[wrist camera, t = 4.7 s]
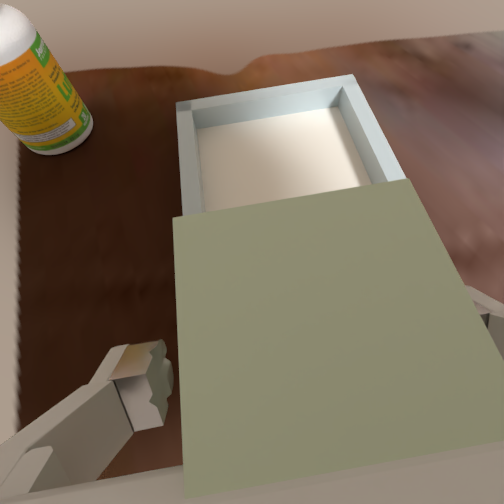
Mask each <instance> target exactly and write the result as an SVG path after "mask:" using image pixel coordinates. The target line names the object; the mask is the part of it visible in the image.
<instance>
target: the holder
mask: <svg viewBox="0 0 504 504" xmlns="http://www.w3.org/2000/svg"><path fill="white" fill-rule="evenodd" d="M176 115H177V131H178V147H179V163H180V179H181V195H182V211H183V216H186V215H192V214H198V213H204V212H210V211H216V210H222V209H228V208H234V207H240V206H246V205H252V204H258V203H264V202H270V201H275V200H281V199H287V198H293V197H299V196H305V195H311V194H317V193H323V192H329V191H335V190H341V189H347V188H353V187H359V186H365V185H371V184H377V183H383V182H388V181H394V180H400V179H406V177H405V175H404V173H403V171H402V169H401V167H400V165H399V163H398V161H397V159H396V157H395V155H394V153H393V151H392V149H391V148H390V146H389V144H388V142H387V140H386V138H385V136H384V134H383V132H382V130H381V128H380V126H379V124H378V122H377V120H376V118H375V116H374V114H373V113H372V111H371V109H370V107H369V105H368V103H367V101H366V99H365V97H364V95H363V93H362V91H361V89H360V87H359V85H358V83H357V81H356V79H355V77H354V76H353V74H350V75H344V76H338V77H332V78H325V79H319V80H313V81H307V82H300V83H294V84H288V85H282V86H276V87H269V88H263V89H257V90H251V91H244V92H238V93H232V94H226V95H220V96H213V97H207V98H201V99H195V100H188V101H182V102H176Z"/></svg>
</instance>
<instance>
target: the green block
mask: <svg viewBox="0 0 504 504" xmlns="http://www.w3.org/2000/svg"><path fill="white" fill-rule="evenodd" d="M173 240H174V263H175V287H176V310H177V333H178V356H179V379H180V402H181V425H182V448H183V472H184V495H185V499H189V498H194V497H200V496H205V495H211V494H216V493H221V492H227V491H232V490H238V489H243V488H249V487H254V486H259V485H265V484H270V483H276V482H281V481H287V480H292V479H297V478H303V477H308V476H314V475H319V474H325V473H330V472H336V471H341V470H346V469H352V468H357V467H363V466H368V465H374V464H379V463H384V462H390V461H395V460H401V459H406V458H412V457H417V456H422V455H428V454H433V453H439V452H444V451H450V450H455V449H460V448H466V447H471V446H477V445H482V444H488V443H493V442H498V441H504V360H503V358H502V357H501V355H500V353H499V351H498V349H497V347H496V345H495V343H494V341H493V339H492V337H491V335H490V333H489V332H488V330H487V328H486V326H485V324H484V322H483V320H482V318H481V316H480V314H479V312H478V310H477V308H476V306H475V305H474V303H473V301H472V299H471V297H470V295H469V293H468V291H467V289H466V287H465V285H464V283H463V281H462V280H461V278H460V276H459V274H458V272H457V270H456V268H455V266H454V264H453V262H452V260H451V258H450V256H449V255H448V253H447V251H446V249H445V247H444V245H443V243H442V241H441V239H440V237H439V235H438V233H437V231H436V230H435V228H434V226H433V224H432V222H431V220H430V218H429V216H428V214H427V212H426V210H425V208H424V206H423V205H422V203H421V201H420V199H419V197H418V195H417V193H416V191H415V189H414V187H413V185H412V183H411V181H410V180H409V178H406V179H400V180H394V181H388V182H383V183H377V184H371V185H365V186H359V187H353V188H347V189H341V190H335V191H329V192H323V193H317V194H311V195H305V196H299V197H293V198H287V199H281V200H275V201H270V202H264V203H258V204H252V205H246V206H240V207H234V208H228V209H222V210H216V211H210V212H204V213H198V214H192V215H186V216H180V217H174V218H173Z"/></svg>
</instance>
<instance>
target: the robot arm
mask: <svg viewBox="0 0 504 504" xmlns="http://www.w3.org/2000/svg"><path fill="white" fill-rule="evenodd" d="M465 287H466V289H467V291H468V293H469V295H470V297H471V299H472V301H473V303H474V305H475V306H476V308H477V310H478V312H479V314H480V316H481V318H482V320H483V322H484V324H485V326H486V328H487V330H488V332H489V333H490V335H491V337H492V339H493V341H494V343H495V345H496V347H497V349H498V351H499V353H500V355H501V357H502V358H503V360H504V304H502V303H500V302H498V301H496V300H494V299H493V298H491V297H489V296H487V295H485V294H483V293H481V292H480V291H478V290H476V289H474V288H472V287H470V286H466V285H465ZM166 352H167V349H166V346H165V343H164V341H163V340H162V339H158V340H152V341H145V342H139V343H132V344H125V345H120V346H115V347H113V348H111V349H110V351H109V352H108V354H107V355H106V357H105V358H104V360H103V362H102V363H101V365H100V366H99V368H98V370H97V371H96V373H95V374H94V376H93V377H92V379H91V381H90V382H89V384H88V385H83V386H81V387H80V388H79V389H77V390H76V391H74V392H73V393H72V394H70V395H69V396H68V397H66V398H65V399H63V400H62V401H61V402H59V403H58V404H57V405H55V406H54V407H52V408H51V409H50V410H48V411H47V412H45V413H44V414H43V415H41V416H40V417H39V418H37V419H36V420H34V421H33V422H32V423H30V424H29V425H28V426H26V427H25V428H23V429H22V430H21V431H19V432H18V433H17V434H15V435H14V436H12V437H11V438H10V439H8V440H7V441H6V442H4V443H3V444H1V445H0V504H504V441H498V442H493V443H488V444H482V445H477V446H471V447H466V448H460V449H455V450H450V451H444V452H439V453H433V454H428V455H422V456H417V457H412V458H406V459H401V460H395V461H390V462H384V463H379V464H374V465H368V466H363V467H357V468H352V469H346V470H341V471H336V472H330V473H325V474H319V475H314V476H308V477H303V478H297V479H292V480H287V481H281V482H276V483H270V484H265V485H259V486H254V487H249V488H243V489H238V490H232V491H227V492H221V493H216V494H211V495H205V496H200V497H194V498H189V499H185V495H184V472H183V465H179V466H174V467H168V468H163V469H158V470H152V471H147V472H141V473H136V474H130V475H125V476H119V477H114V478H108V479H103V480H98V481H96V479H97V478H98V477H99V476H100V474H101V473H102V472H103V471H104V469H105V468H106V467H107V466H108V464H109V463H110V462H111V461H112V460H113V458H114V457H115V456H116V455H117V453H118V452H119V451H120V450H121V448H122V447H123V446H124V445H125V443H126V442H127V441H128V440H129V438H130V437H131V436H132V435H133V432H135V431H139V430H144V429H149V428H154V427H158V426H163V425H164V421H165V417H166V414H167V410H168V406H169V405H168V402H167V398H168V397H169V395H170V394H171V393H172V389H173V380H174V375H173V368H172V365H171V362H170V361H169V360H168V359H166V358H165V355H166Z"/></svg>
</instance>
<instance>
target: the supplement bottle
mask: <svg viewBox="0 0 504 504" xmlns="http://www.w3.org/2000/svg"><path fill="white" fill-rule="evenodd" d="M0 121H1V122H3V124H4V125H5V126H6V127H7V128H8V129H9V130H10V131H11V132H12V133H13V134H14V135H15V136H16V137H17V138H18V139H19V140H20V141H21V142H22V143H23V144H24V145H26V146H27V147H28V148H29V149H30V150H32V151H33V152H36V153H38V154H43V155H57V154H61V153H64V152H67V151H70V150H71V149H73V148H75V147H77V146H78V145H80V144H81V143H82V142H83V141H84V140H85V139H86V138H87V137H88V136H89V134H90V133H91V130H92V127H93V119H92V116H91V114H90V112H89V111H88V109H87V107H86V106H85V104H84V103H83V101H82V100H81V98H80V97H79V95H78V94H77V92H76V91H75V89H74V87H73V86H72V84H71V83H70V81H69V80H68V78H67V77H66V75H65V73H64V72H63V70H62V69H61V67H60V66H59V64H58V63H57V61H56V60H55V58H54V57H53V55H52V54H51V52H50V51H49V49H48V48H47V46H46V45H45V43H44V41H43V40H42V38H41V37H40V35H39V34H38V32H37V31H36V29H35V28H34V26H33V25H32V24H31V22H30V21H29V19H28V18H27V17H26V16H25V15H24V14H23V13H22V12H20V11H19V10H17V9H16V8H13V7H11V6H9V5H5V4H0Z"/></svg>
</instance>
